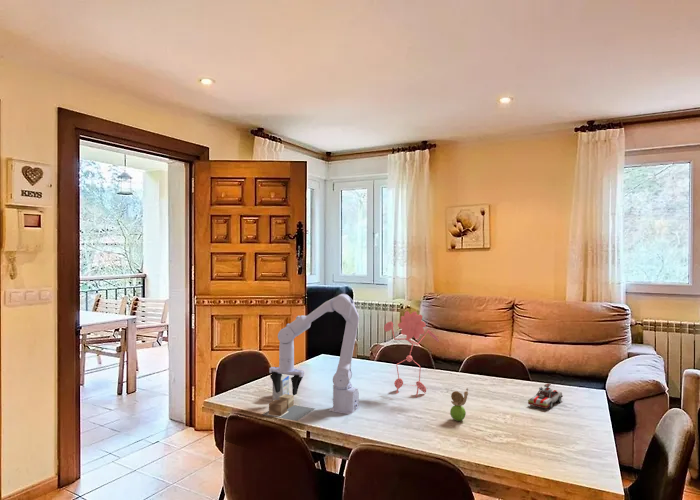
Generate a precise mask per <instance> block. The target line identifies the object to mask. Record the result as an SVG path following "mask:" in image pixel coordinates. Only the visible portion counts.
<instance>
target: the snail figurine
mask: <svg viewBox="0 0 700 500" xmlns="http://www.w3.org/2000/svg"><path fill="white" fill-rule="evenodd" d="M468 391H469V388H466V389H465V391H464V392H463V394H462V392H460V391H457V390H454V391H453V392H452V393H451V394H450V395H451V396H450V397H451V402H450V403H451V404H453V406H452V407H451V408H450V411H449V414H450V417H451V418H452V419H453V421H457V422H460V421H463V420H464V419H465V418H466V416H467V415H466V410H465V408H464V405H465V404H466V403H467V399H468V395H469V392H468Z"/></svg>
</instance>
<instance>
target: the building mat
mask: <svg viewBox="0 0 700 500" xmlns="http://www.w3.org/2000/svg"><path fill="white" fill-rule="evenodd" d="M315 410H316V408H314V407H308V406H303V405H302V406H300V405H295V404H294V406H292V407H290V408H289V409H287V412H286V413H284V414H283V415H282V416H278V415H270V414H269V410H267V411H266V412H264V413H263V414H261V416H267V417H273V418H277V419H278V418H279V419H285V420H290V421H294V422H297V421H299V420H301V419H302V418H304V417H305V416H307V415H308V414H310V413H312V411H315Z"/></svg>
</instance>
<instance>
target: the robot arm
mask: <svg viewBox="0 0 700 500" xmlns="http://www.w3.org/2000/svg"><path fill="white" fill-rule="evenodd" d="M334 311H335V312H336V313H338V314H339V315H341V317H343V318H344V320H345V328H344V334H343V339H342V343H341V349H340V356H339V361H338V364H337V367H336V372H335V373H334V374H333V376H332V383H333V385H332V401H333V402H332V407H331V408H330V409H328V411H329V412H336V413H341V414H346V415H352V414H354V413H355V412H356V411H357V410H359V409H360V406H359V403H360V402H359V400H360V399H359V390H358V389H359V388H357V387H356V388H355V387H353V384H352V383H351V379H352V375H353V373H352V360H353V355H354V348H355V343H356V340H357V339H356V338H357V333H358V327H359V323H360V314H359V312H358V310H357V308H356V305H355V302H354V300H353V299H352V298H351V296H349V295H348V294H346V293H340V294H338V295H337V296H334V297H333V298H331V299H329V300H326V301H325V302H323V303H322V304H321V305H319V306H318V307H317V308H315V309H314V310H313V311H311V312H310V313H309V314H307V315H304V314H303V315H302V314H301V315H297V316H296V317H295V319H294V320H293V321H291V322H290V323H286V326H285V327H283V328H281V329H280V330H279V331H278V334H277V339H278V341H279V345H278V346H279V349H278V355H279V356H278V357H279V358H278V361H279V363H278V367H275V366H271V367H269V374H270V375H269V377H270V379H271V381H272V384H273V383H274V386H275V390H276V393H278V392H280V389H281V376H282V375H287V376H292V377H290V380H291V387H292V389H291V390H292V395H294V396H296V395H298V391H299V390H298V389H299V387H300V383H301V382H302V380H303V377H304V376H305V371H304V370H300V369H298V368H297V369H296V368H295V340H294V339H296V337H298V336H300V335H301V334H303V333H305V331H307V330H309V329H310V328H311V325H312V322H315V321H316V320H317V319H319V318H320V317H321V316H323V315H325V314H326V313H333V312H334Z"/></svg>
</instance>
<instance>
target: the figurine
mask: <svg viewBox="0 0 700 500" xmlns="http://www.w3.org/2000/svg"><path fill="white" fill-rule="evenodd" d="M403 314H404V316H403V315H400V321H401V322H398V323H397V327H398V328H399V329H400V330H401V331H400V332H401V334H402V335H403V336H405V335H406V336H405V337H404V338H402V337H401V338H396V337H395V333H394V332H395V331H394V322H393V321H392V320H391V321H388V322H387V323H385V324H384V327H383V329H384V331H385V333H387V332H390V331H392V337H393V339H394V341H398V340H403V341H404V340H405V341H407V342H409V343H410V344H411V347H410V351H409V355H407V356H405V357H406V359H404V360H401V361H400V362H398V363H396V371H397V377H398V378H396V379H395V381H394V387H395V388H396V392H395V393H396V394H398V392H399V390H400V389H401V388H402V386H407V384H404V380H403V379H402V378H400V376H399V375H400V374H399V369H398V368H399V367H398V365H399V364H401V363H403V362H405V361H407V362H409V363H410V362H414V363H415V364H416V365H417V366H419V373H418V374H419V376H418V380H417V381H416V382H415V384H413V385H412V384H411V386H413V387H417V388H416V394H415V397H417V398H418V394H419V391H421V392H422V393H424V394H426V393H427V389H428V387H426V386H425V384H423V383H422V382H421V369H422V368H421V365H420V364H419V363H417V362H416V361H415V360H414V359H413V356H412V355H411V354H412V352H413V351H412V350H413V347H414V344H415V345H417V346H418V345H419V344H420V343H421V342H422V341H423V339H424V338H425V337H426V336H427V334H429V336H430V338H432V339H434V340H435V341H436V342H438V343H440V339H439V338H438V336H437V334H435V333H433V332H432V331H431V330H430V329H427V331H426V332H425V329H424V328H425V327H427V323H426V322H425V321H423V315H422V314H418V312H417V311H412V312H411V313H410V311H408V310H406V311H405V312H404V313H403ZM421 335H423V336H422V338H421V339H420V336H421ZM413 338H414V339H415V340H419V339H420V340H419V341H418V342H415V341H414V340H411V339H413Z"/></svg>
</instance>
